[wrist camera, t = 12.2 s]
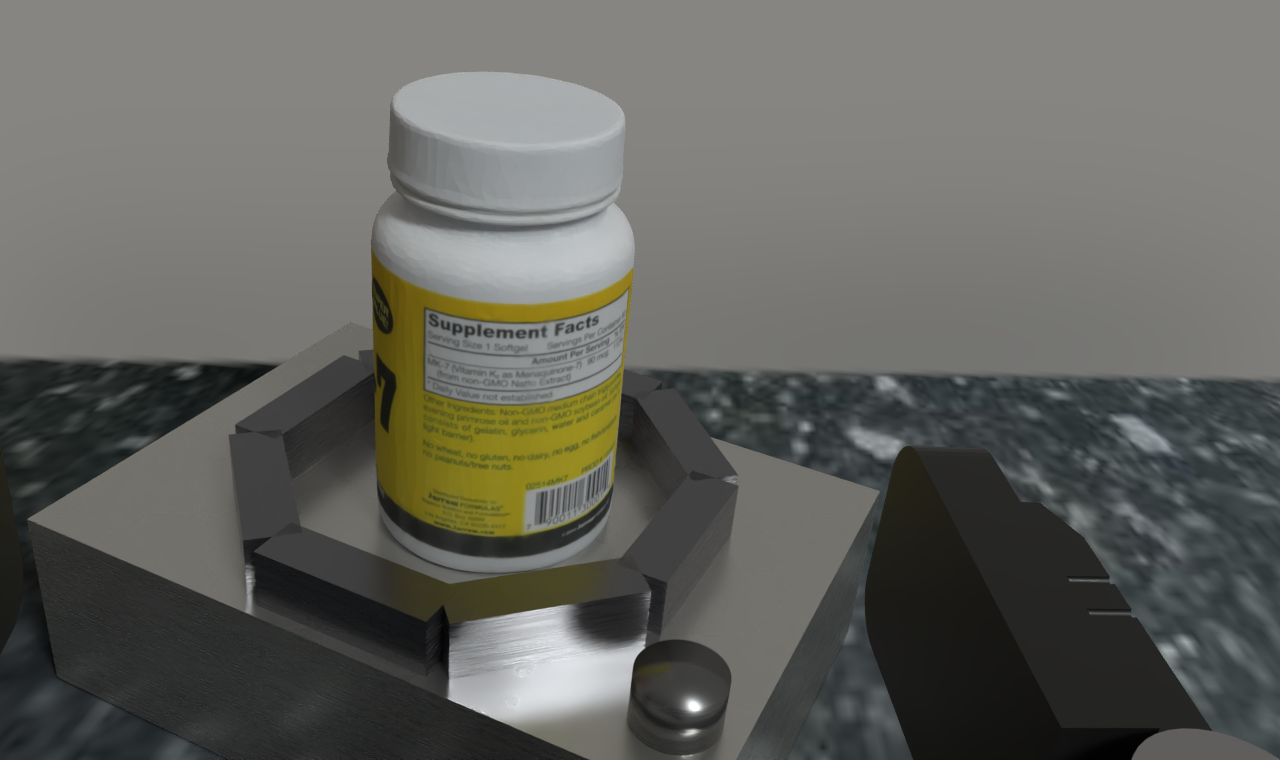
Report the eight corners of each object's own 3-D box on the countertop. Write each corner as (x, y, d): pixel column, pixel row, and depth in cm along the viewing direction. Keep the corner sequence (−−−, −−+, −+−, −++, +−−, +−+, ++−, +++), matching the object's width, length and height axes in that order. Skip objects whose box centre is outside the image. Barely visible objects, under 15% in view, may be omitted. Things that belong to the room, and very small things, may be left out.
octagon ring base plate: (57, 677, 25) (17, 466, 22) (354, 453, 33) (349, 279, 31) (680, 976, 20) (718, 754, 18) (847, 631, 29) (890, 445, 26)
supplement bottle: (401, 434, 27) (400, 52, 23) (615, 454, 27) (652, 77, 23) (350, 571, 23) (336, 133, 18) (604, 594, 23) (645, 164, 19)
